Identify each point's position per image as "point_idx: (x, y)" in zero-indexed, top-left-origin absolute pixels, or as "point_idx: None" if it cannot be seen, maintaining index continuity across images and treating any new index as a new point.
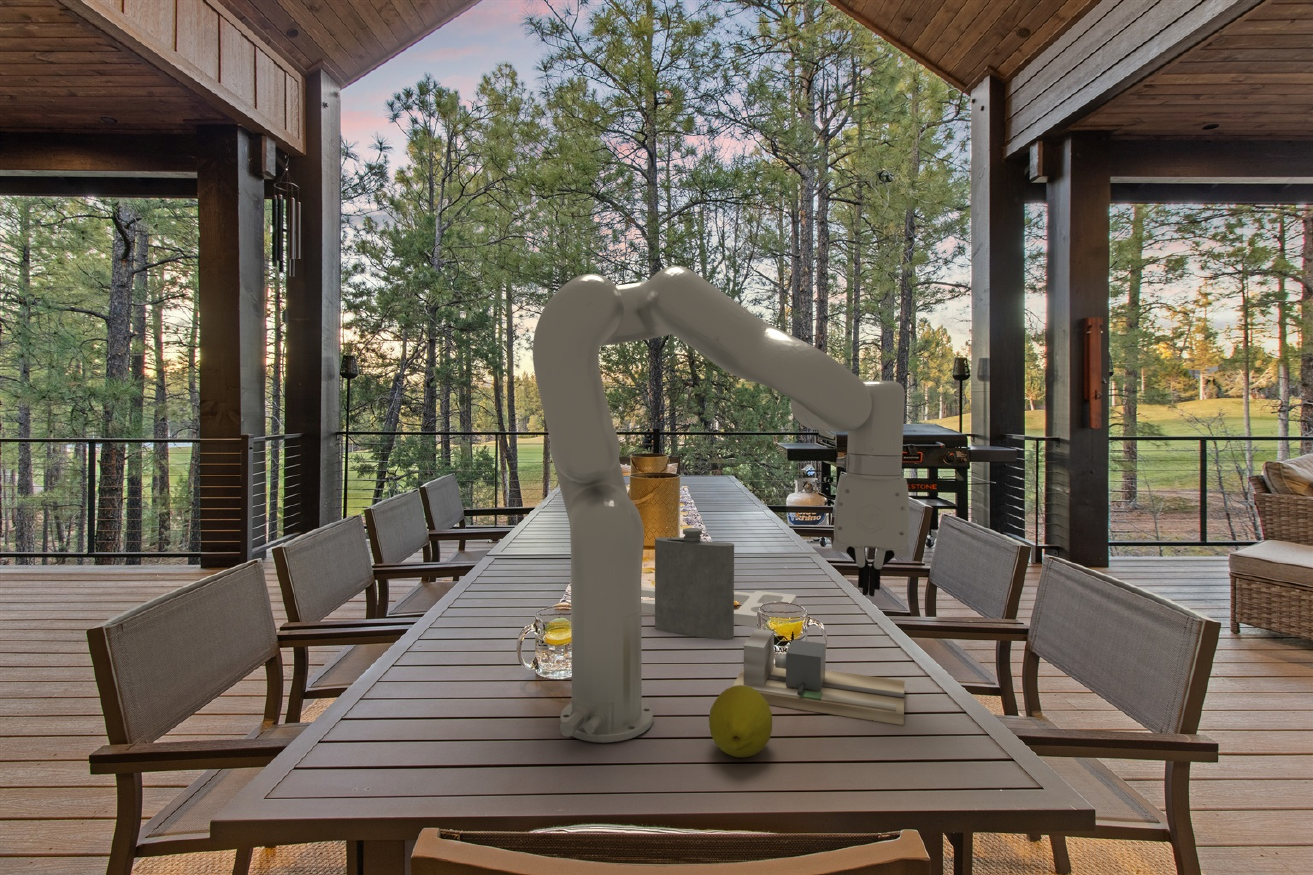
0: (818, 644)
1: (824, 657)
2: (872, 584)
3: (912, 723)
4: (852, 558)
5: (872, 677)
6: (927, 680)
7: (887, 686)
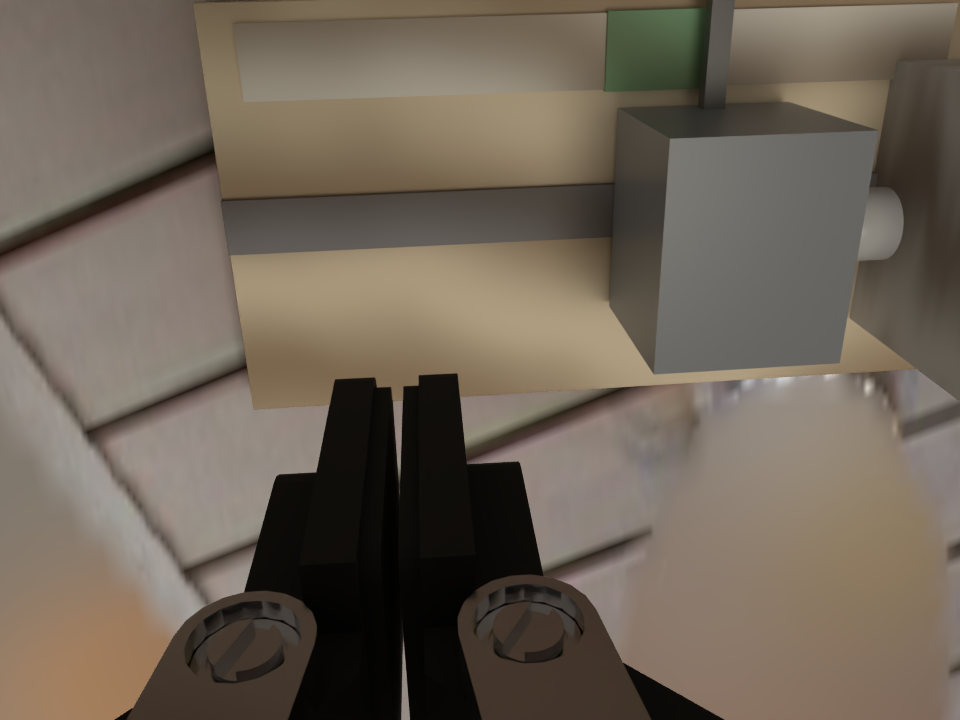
0: (693, 344)
1: (639, 302)
2: (345, 435)
3: (169, 43)
4: (678, 704)
5: (397, 389)
6: (184, 527)
7: (317, 315)
